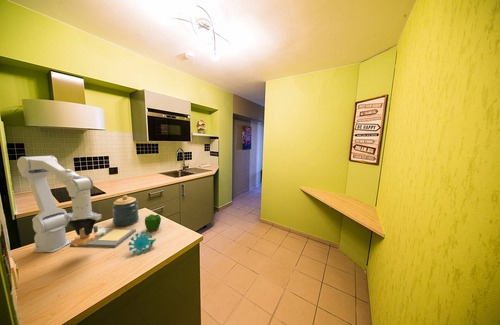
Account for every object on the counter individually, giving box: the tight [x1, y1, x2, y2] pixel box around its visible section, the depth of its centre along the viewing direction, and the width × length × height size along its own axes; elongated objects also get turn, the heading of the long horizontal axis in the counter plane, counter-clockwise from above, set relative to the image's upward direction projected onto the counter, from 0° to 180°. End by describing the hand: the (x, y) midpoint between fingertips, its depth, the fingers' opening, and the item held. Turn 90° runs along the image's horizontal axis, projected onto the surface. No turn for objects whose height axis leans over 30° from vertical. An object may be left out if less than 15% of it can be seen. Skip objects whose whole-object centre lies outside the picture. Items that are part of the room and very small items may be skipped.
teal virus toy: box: [127, 231, 157, 255], centre depth 78 cm, size 11×6×10 cm
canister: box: [111, 194, 140, 228], centre depth 100 cm, size 13×13×18 cm
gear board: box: [69, 225, 137, 248], centre depth 84 cm, size 22×14×6 cm, turn 90°
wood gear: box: [70, 228, 98, 247], centre depth 71 cm, size 8×8×6 cm
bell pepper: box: [144, 213, 162, 232], centre depth 94 cm, size 8×8×10 cm
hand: (84, 233), depth 71 cm, fingers closed on wood gear, 3 cm apart
